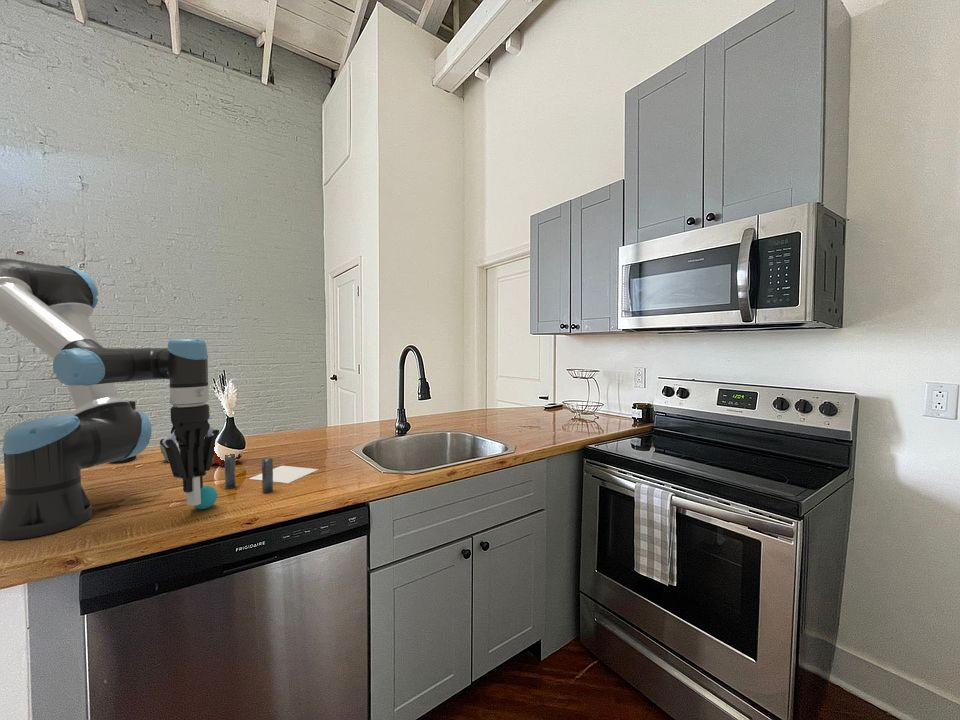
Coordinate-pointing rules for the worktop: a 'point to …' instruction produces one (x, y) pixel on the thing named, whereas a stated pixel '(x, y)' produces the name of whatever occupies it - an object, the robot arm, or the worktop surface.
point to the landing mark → (287, 474)
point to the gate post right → (267, 475)
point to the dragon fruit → (217, 460)
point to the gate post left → (230, 471)
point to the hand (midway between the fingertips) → (193, 504)
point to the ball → (207, 497)
